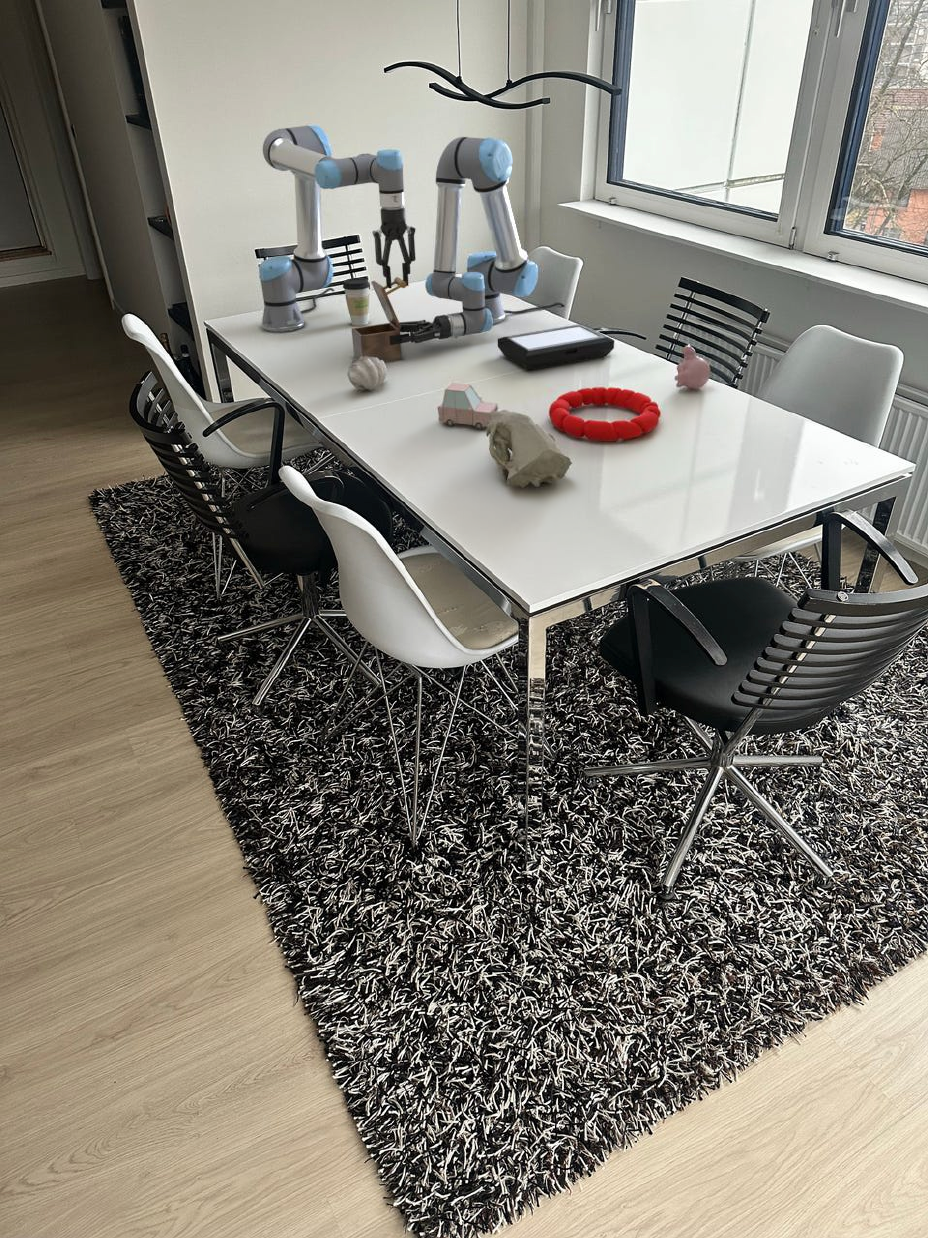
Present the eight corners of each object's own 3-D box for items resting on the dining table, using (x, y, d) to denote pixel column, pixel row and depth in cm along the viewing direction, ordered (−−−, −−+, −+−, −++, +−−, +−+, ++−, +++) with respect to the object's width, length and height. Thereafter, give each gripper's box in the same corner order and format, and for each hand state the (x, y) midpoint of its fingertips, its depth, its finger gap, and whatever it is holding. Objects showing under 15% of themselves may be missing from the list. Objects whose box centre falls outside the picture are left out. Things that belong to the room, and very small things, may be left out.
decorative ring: (589, 435, 224) (684, 402, 234) (527, 398, 247) (617, 369, 256) (589, 461, 229) (683, 427, 238) (529, 422, 251) (617, 393, 260)
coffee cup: (372, 326, 323) (368, 283, 314) (345, 327, 323) (340, 284, 315) (374, 318, 331) (371, 276, 322) (348, 319, 331) (344, 277, 323)
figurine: (665, 387, 264) (669, 347, 257) (693, 380, 268) (698, 340, 261) (686, 396, 257) (690, 355, 250) (714, 388, 262) (720, 348, 255)
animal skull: (496, 517, 219) (521, 479, 201) (463, 429, 225) (484, 384, 207) (557, 503, 225) (586, 465, 206) (523, 417, 231) (549, 373, 212)
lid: (381, 288, 277) (404, 275, 278) (371, 281, 285) (394, 268, 286) (398, 329, 286) (421, 316, 287) (388, 321, 294) (410, 308, 295)
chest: (363, 365, 288) (360, 336, 283) (354, 357, 295) (351, 328, 290) (402, 359, 292) (400, 330, 287) (392, 351, 300) (390, 322, 294)
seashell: (340, 388, 271) (336, 356, 265) (384, 379, 276) (382, 347, 271) (353, 398, 263) (350, 365, 258) (399, 389, 269) (396, 356, 263)
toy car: (488, 432, 240) (488, 396, 234) (436, 426, 244) (434, 390, 239) (499, 419, 247) (499, 384, 241) (448, 413, 252) (447, 379, 246)
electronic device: (525, 353, 274) (497, 336, 289) (525, 373, 277) (497, 355, 292) (614, 337, 284) (582, 321, 299) (613, 356, 288) (581, 340, 303)
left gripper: (368, 212, 265) (374, 292, 279) (424, 206, 271) (428, 285, 284) (360, 208, 271) (366, 287, 284) (415, 202, 277) (419, 279, 290)
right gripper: (461, 346, 292) (397, 357, 285) (435, 328, 309) (374, 338, 301) (460, 323, 287) (395, 333, 280) (434, 306, 304) (372, 315, 297)
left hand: (397, 285), depth 284 cm, fingers open, 5 cm apart
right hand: (384, 336), depth 291 cm, fingers closed on chest, 10 cm apart
